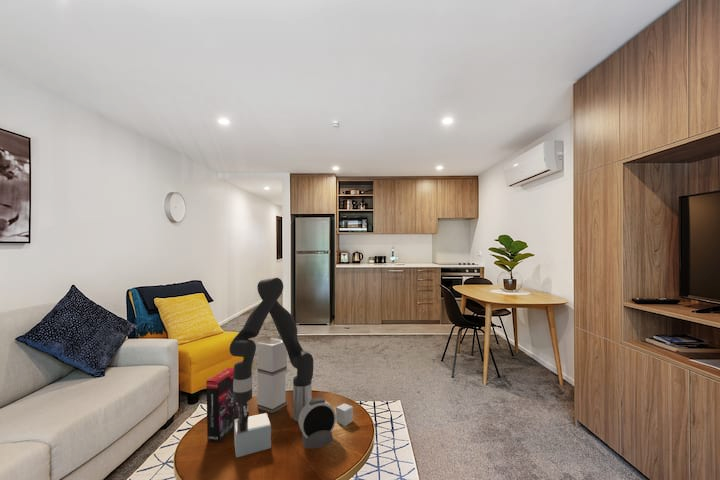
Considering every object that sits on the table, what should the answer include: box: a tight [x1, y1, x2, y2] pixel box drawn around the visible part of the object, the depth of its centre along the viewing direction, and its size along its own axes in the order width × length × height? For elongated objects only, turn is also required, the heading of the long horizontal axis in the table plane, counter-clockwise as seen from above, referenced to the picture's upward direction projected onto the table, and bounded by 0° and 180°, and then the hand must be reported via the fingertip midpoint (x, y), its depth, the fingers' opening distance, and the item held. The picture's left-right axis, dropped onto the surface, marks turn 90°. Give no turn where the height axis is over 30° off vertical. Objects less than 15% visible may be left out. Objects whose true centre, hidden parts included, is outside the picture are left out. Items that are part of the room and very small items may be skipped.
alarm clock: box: [297, 397, 337, 450], centre depth 147 cm, size 16×10×18 cm, turn 115°
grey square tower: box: [256, 337, 288, 414], centre depth 180 cm, size 11×11×35 cm
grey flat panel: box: [235, 419, 272, 458], centre depth 138 cm, size 14×1×15 cm, turn 117°
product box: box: [335, 403, 354, 427], centre depth 163 cm, size 6×6×7 cm
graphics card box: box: [205, 367, 239, 443], centre depth 155 cm, size 17×7×27 cm, turn 168°
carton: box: [233, 412, 271, 454], centre depth 144 cm, size 14×11×10 cm
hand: (242, 429), depth 136 cm, fingers closed
